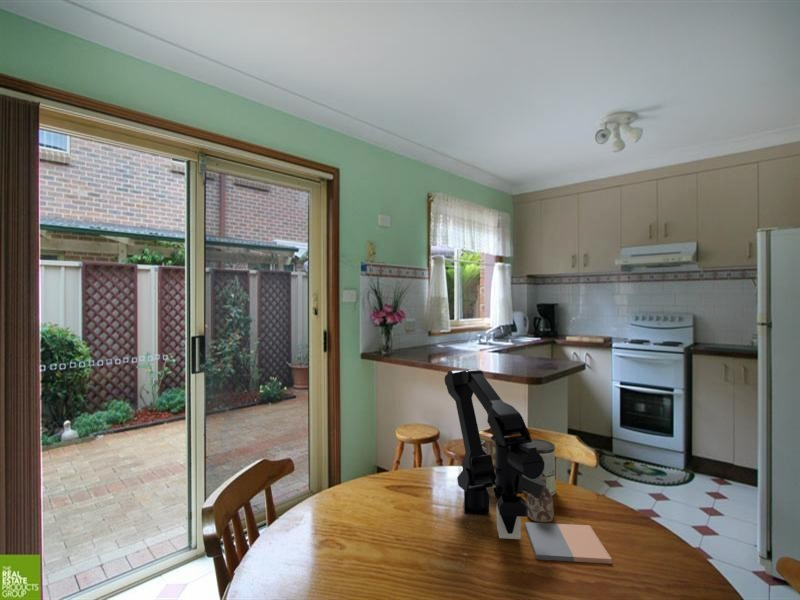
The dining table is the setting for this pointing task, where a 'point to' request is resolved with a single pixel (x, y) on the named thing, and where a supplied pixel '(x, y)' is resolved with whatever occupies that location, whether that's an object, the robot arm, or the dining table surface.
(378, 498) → the dining table surface
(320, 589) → the dining table surface
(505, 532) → the cream block
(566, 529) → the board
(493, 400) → the robot arm
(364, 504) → the dining table surface
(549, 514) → the figurine
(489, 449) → the candy box
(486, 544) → the dining table surface
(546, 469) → the coffee can
